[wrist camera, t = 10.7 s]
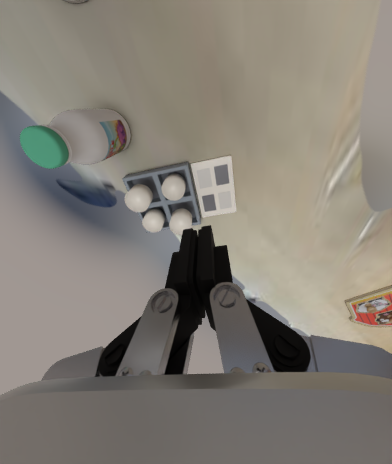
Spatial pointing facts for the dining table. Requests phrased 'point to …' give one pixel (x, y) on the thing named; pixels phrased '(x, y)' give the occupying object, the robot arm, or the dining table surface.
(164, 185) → the button
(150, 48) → the dining table surface
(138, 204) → the button
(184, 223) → the button
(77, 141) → the milk bottle
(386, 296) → the coat of arms plaque
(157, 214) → the button
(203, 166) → the card
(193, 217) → the button board
